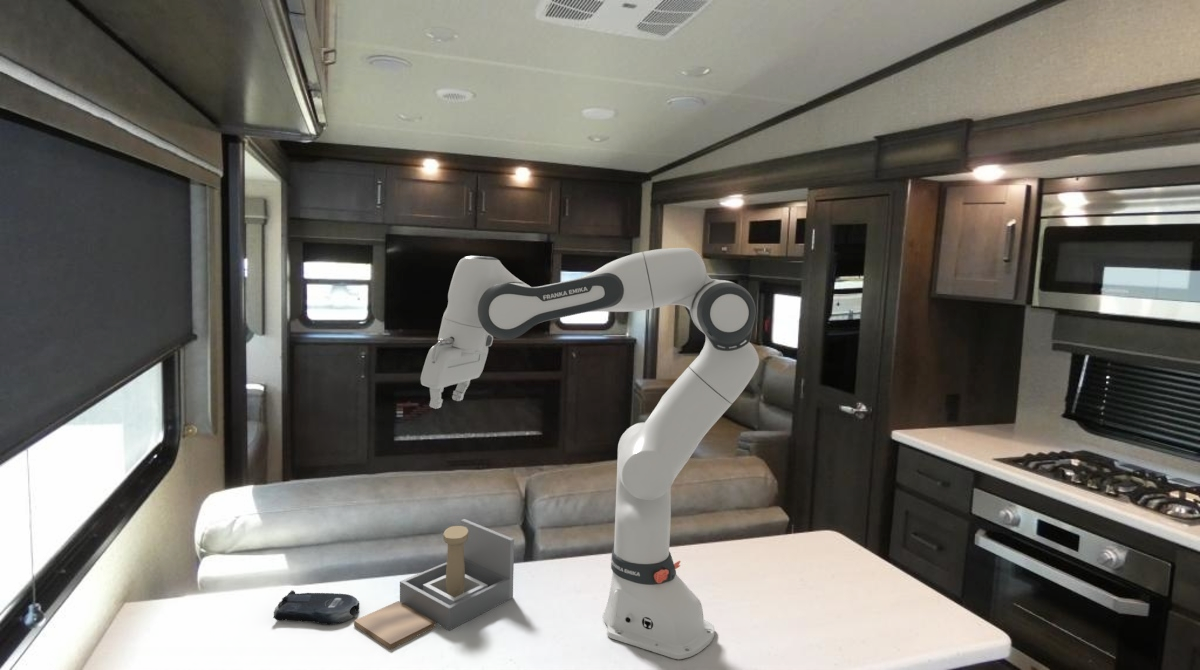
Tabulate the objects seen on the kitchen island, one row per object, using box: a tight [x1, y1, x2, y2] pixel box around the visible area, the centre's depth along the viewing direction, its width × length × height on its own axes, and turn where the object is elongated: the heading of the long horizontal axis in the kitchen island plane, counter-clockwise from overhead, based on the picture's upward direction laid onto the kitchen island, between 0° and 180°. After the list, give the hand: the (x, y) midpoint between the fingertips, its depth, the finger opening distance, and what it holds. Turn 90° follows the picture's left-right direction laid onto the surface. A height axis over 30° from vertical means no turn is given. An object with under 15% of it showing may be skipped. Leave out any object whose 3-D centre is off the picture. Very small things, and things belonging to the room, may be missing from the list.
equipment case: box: [399, 518, 515, 631], centre depth 138 cm, size 16×17×13 cm
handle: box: [442, 525, 468, 598], centre depth 138 cm, size 5×6×15 cm
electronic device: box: [272, 589, 360, 626], centre depth 132 cm, size 9×6×15 cm
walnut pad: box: [353, 600, 436, 650], centre depth 128 cm, size 12×10×1 cm
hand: (446, 403), depth 130 cm, fingers open, 8 cm apart
